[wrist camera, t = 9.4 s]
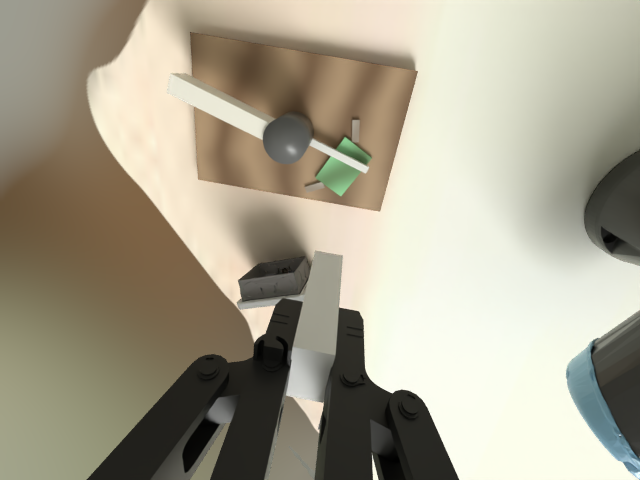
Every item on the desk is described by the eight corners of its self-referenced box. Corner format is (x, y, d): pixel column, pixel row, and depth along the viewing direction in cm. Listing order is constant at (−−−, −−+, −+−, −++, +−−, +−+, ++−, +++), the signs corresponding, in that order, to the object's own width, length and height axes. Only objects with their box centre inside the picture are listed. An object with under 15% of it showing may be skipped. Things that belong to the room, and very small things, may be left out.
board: (415, 71, 32) (418, 71, 31) (379, 208, 40) (380, 212, 38) (195, 33, 32) (188, 31, 31) (202, 176, 40) (196, 180, 39)
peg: (376, 151, 35) (380, 164, 30) (358, 184, 37) (359, 201, 32) (200, 61, 32) (171, 58, 27) (191, 101, 34) (162, 106, 29)
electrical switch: (261, 283, 48) (240, 320, 39) (251, 255, 46) (227, 287, 38) (317, 275, 46) (309, 312, 38) (310, 245, 44) (299, 277, 36)
